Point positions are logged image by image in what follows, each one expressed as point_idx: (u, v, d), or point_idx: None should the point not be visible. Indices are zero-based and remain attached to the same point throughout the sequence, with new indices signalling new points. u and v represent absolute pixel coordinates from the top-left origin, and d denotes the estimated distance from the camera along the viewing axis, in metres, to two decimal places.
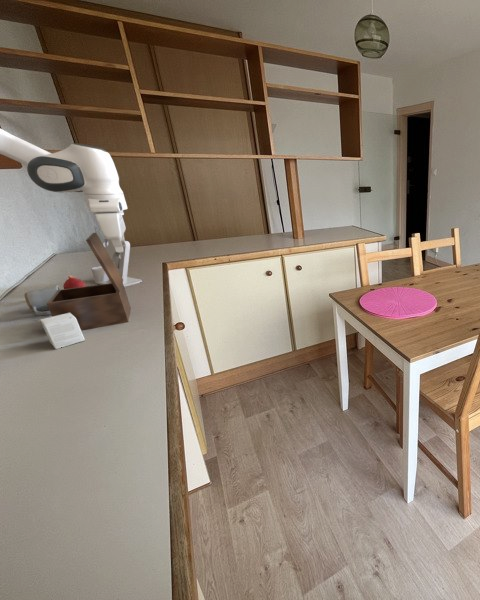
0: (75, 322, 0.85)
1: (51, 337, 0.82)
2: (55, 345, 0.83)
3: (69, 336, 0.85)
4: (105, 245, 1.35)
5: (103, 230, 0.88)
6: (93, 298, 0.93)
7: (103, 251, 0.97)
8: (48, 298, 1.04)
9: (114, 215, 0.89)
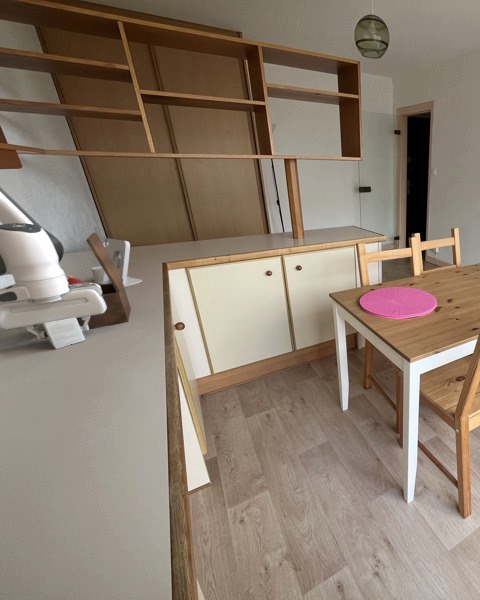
0: (75, 322, 0.85)
1: (51, 337, 0.82)
2: (55, 345, 0.83)
3: (69, 336, 0.85)
4: (105, 245, 1.35)
5: None
6: None
7: (103, 251, 0.97)
8: None
9: None
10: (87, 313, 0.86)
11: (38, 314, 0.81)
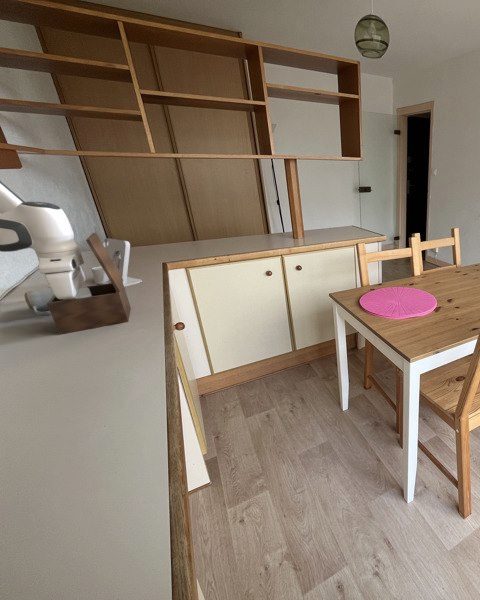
0: None
1: None
2: None
3: None
4: (105, 245, 1.35)
5: (54, 291, 0.85)
6: (93, 298, 0.93)
7: (103, 251, 0.97)
8: (48, 298, 1.04)
9: (66, 275, 0.86)
10: (83, 280, 1.00)
11: (76, 281, 0.93)
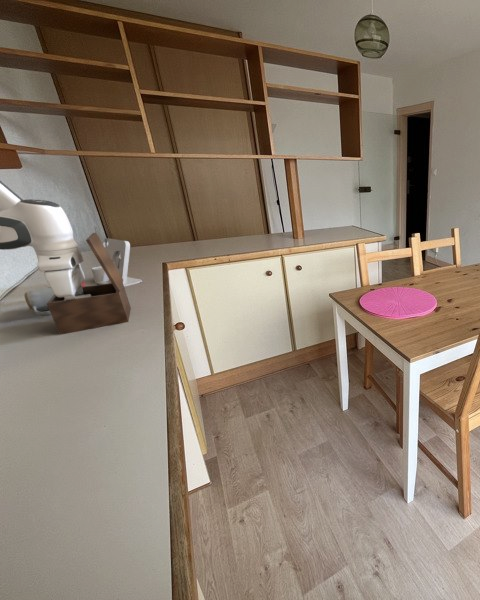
0: None
1: None
2: None
3: None
4: (105, 245, 1.35)
5: (53, 289, 0.85)
6: (93, 298, 0.93)
7: (103, 251, 0.97)
8: (48, 298, 1.04)
9: (65, 273, 0.86)
10: (83, 278, 1.00)
11: (75, 280, 0.93)
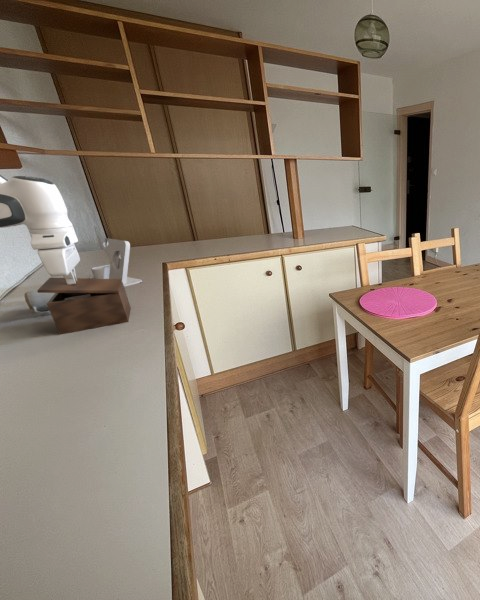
0: None
1: None
2: None
3: None
4: (105, 245, 1.35)
5: (47, 267, 0.83)
6: (93, 298, 0.93)
7: None
8: (48, 298, 1.04)
9: (59, 251, 0.84)
10: (78, 260, 0.98)
11: (70, 260, 0.91)
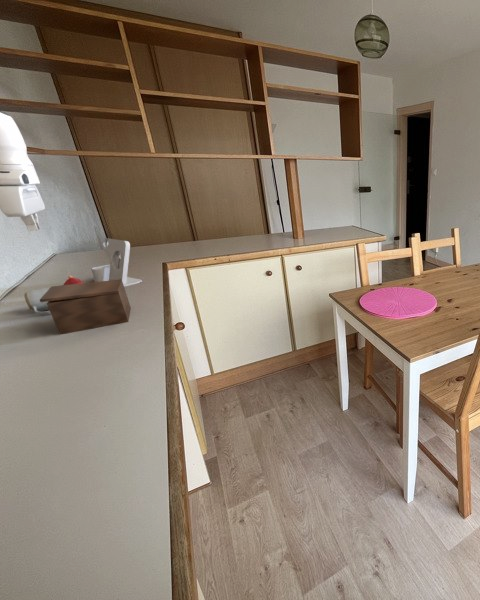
0: None
1: None
2: None
3: None
4: (105, 245, 1.35)
5: (1, 205, 0.75)
6: (93, 298, 0.93)
7: (72, 288, 0.96)
8: None
9: (15, 188, 0.77)
10: (42, 207, 0.90)
11: (30, 203, 0.83)
